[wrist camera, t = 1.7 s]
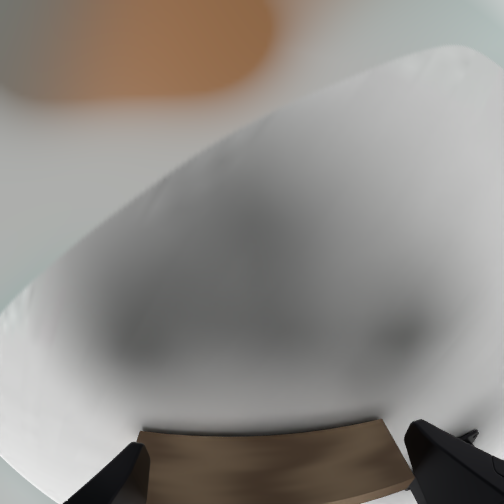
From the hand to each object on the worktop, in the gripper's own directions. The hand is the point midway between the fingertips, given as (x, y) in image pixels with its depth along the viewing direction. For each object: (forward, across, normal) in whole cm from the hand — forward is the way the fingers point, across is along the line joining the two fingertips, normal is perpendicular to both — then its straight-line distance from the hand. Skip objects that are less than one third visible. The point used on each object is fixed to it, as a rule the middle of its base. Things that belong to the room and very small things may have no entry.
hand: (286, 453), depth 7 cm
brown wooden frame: (+5, 0, +11) cm, 12 cm away
